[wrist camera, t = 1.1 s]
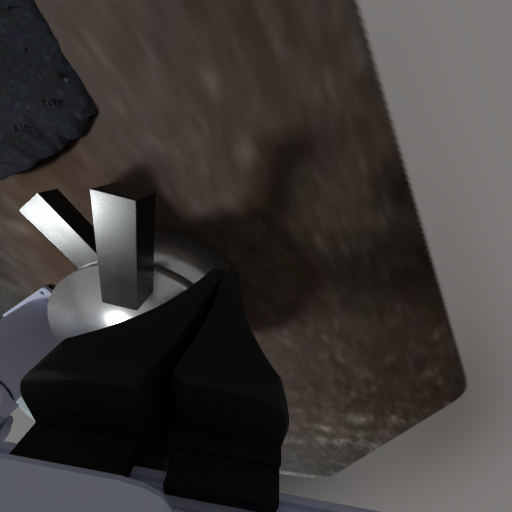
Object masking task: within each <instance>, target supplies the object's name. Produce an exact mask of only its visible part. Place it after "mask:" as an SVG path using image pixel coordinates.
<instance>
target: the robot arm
mask: <svg viewBox="0 0 512 512" xmlns="http://www.w3.org/2000/svg"><path fill="white" fill-rule="evenodd" d="M239 279H240V274H239V273H238V272H232V271H226V270H221V269H215V268H214V269H212V270H211V271H210V272H208V273H207V274H206V275H205V276H203V277H202V278H201V279H200V280H198V281H197V282H196V283H194V284H193V285H192V286H190V287H189V288H188V289H186V290H185V291H183V292H182V293H180V294H178V295H177V296H175V297H174V298H172V299H171V300H169V301H167V302H165V303H163V304H161V305H159V306H158V307H156V308H153V309H151V310H149V311H147V312H144V313H142V314H140V315H138V316H135V317H133V318H130V319H128V320H125V321H122V322H120V323H117V324H114V325H111V326H108V327H105V328H102V329H98V330H95V331H91V332H88V333H84V334H80V335H77V336H73V337H69V338H65V339H64V340H63V341H62V342H60V343H59V344H58V342H57V341H56V339H55V337H54V335H53V333H52V330H51V328H50V325H49V320H48V315H47V314H48V302H49V298H50V295H51V293H52V291H53V290H52V289H51V288H49V287H48V286H44V287H42V288H41V289H39V290H38V291H36V292H35V293H33V294H32V295H31V296H29V297H28V298H26V299H25V300H23V301H22V302H21V303H19V304H18V305H16V306H15V307H13V308H12V309H11V310H9V311H8V312H6V313H5V314H4V315H3V317H4V318H2V319H0V512H378V511H373V510H367V509H362V508H357V507H352V506H346V505H341V504H336V503H331V502H325V501H320V500H314V499H309V498H304V497H298V496H293V495H288V494H283V493H279V468H280V466H281V446H282V444H283V441H284V438H285V436H286V433H287V431H288V427H289V414H288V407H287V401H286V397H285V392H284V389H283V385H282V381H281V378H280V377H279V375H278V374H277V373H276V371H275V370H274V369H273V367H272V366H271V364H270V363H269V361H268V360H267V358H266V356H265V355H264V353H263V352H262V350H261V348H260V346H259V344H258V342H257V341H256V339H255V337H254V335H253V333H252V330H251V328H250V326H249V323H248V321H247V318H246V315H245V312H244V309H243V305H242V301H241V296H240V290H239ZM21 396H22V397H23V399H24V401H25V403H26V405H27V407H28V408H29V410H30V412H31V414H32V416H33V417H34V419H35V421H36V423H35V424H34V425H33V426H32V428H31V429H30V430H29V431H28V432H27V433H26V434H25V436H24V437H23V438H22V439H21V440H20V441H19V443H18V444H17V443H12V442H6V441H4V440H5V439H6V437H7V436H8V434H9V432H10V429H11V425H12V423H13V417H12V416H10V414H11V413H12V412H13V411H14V410H15V409H16V408H17V407H18V406H19V405H18V404H17V403H16V401H17V400H18V399H19V398H20V397H21Z"/></svg>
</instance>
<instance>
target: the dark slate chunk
mask: <svg viewBox="0 0 512 512" xmlns="http://www.w3.org/2000/svg"><path fill="white" fill-rule="evenodd" d="M93 114H96V110H95V107H94V105H93V102H92V100H91V99H90V98H89V97H88V95H87V92H86V89H85V87H84V84H83V82H82V81H81V79H80V77H79V76H78V74H77V73H76V72H75V70H74V69H73V68H72V67H71V65H70V63H69V62H68V61H67V60H66V58H65V57H64V55H63V53H62V51H61V49H60V46H59V43H58V41H57V39H56V38H55V37H54V35H53V34H52V32H51V29H50V27H49V25H48V23H47V21H46V20H45V18H44V17H43V16H42V15H41V13H40V12H39V10H38V8H37V6H36V4H35V2H34V0H0V180H3V179H5V178H7V177H8V176H11V175H13V174H15V173H18V172H20V171H26V170H28V168H30V167H33V166H34V164H35V163H37V162H39V160H41V159H44V158H47V157H49V156H51V155H54V154H56V153H58V152H59V151H60V150H61V149H62V148H63V147H64V146H66V145H67V144H68V143H70V141H71V140H72V139H76V138H78V137H80V136H81V135H82V133H83V131H84V130H85V129H86V128H87V127H88V124H89V118H90V115H93Z"/></svg>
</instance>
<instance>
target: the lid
mask: <svg viewBox="0 0 512 512" xmlns="http://www.w3.org/2000/svg"><path fill="white" fill-rule="evenodd" d="M90 195H91V204H92V213H93V222H94V232H95V241H96V250H97V261H94V262H91V263H88V264H86V265H84V266H83V267H81V268H79V269H77V270H76V271H74V272H73V273H71V274H70V275H68V276H67V277H65V278H64V279H63V280H62V281H60V282H59V283H58V284H57V286H56V287H55V288H54V289H53V291H52V293H51V295H50V298H49V302H48V314H47V315H48V320H49V325H50V328H51V330H52V333H53V335H54V337H55V339H56V341H57V342H58V344H59V343H60V342H62V341H63V340H64V339H65V338H69V337H73V336H77V335H80V334H84V333H88V332H91V331H95V330H98V329H102V328H105V327H108V326H111V325H114V324H117V323H120V322H122V321H125V320H128V319H130V318H133V317H135V316H138V315H140V314H142V313H144V312H147V311H149V310H151V309H153V308H156V307H158V306H159V305H161V304H163V303H165V302H167V301H169V300H171V299H172V298H174V297H175V296H177V295H178V294H180V293H182V292H183V291H185V290H186V289H188V288H189V287H190V286H192V285H193V284H194V283H192V282H191V281H189V280H188V279H186V278H185V277H183V276H181V275H179V274H178V273H176V272H174V271H172V270H170V269H167V268H165V267H163V266H160V265H157V264H154V241H155V203H156V192H153V191H149V190H145V189H141V188H137V187H133V186H130V185H126V184H122V183H118V182H116V183H112V184H108V185H104V186H100V187H97V188H93V189H90Z"/></svg>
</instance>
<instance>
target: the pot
mask: <svg viewBox="0 0 512 512" xmlns="http://www.w3.org/2000/svg"><path fill="white" fill-rule="evenodd" d="M19 211H20V212H21V213H22V214H23V215H24V216H25V217H26V218H27V219H28V220H29V221H30V222H31V223H32V224H34V225H35V226H36V227H37V228H38V229H39V230H40V231H41V232H42V233H43V234H44V235H45V236H46V237H47V238H48V239H49V240H50V241H51V242H52V243H53V244H54V245H55V246H56V247H57V248H58V249H59V250H60V251H62V252H63V253H64V254H65V255H66V256H67V257H68V258H69V259H70V260H71V261H72V262H73V263H74V264H75V265H76V266H77V267H78V268H81V267H83V266H84V265H86V264H88V263H91V262H94V261H97V250H96V241H95V232H94V227H93V226H92V225H91V224H90V223H89V222H88V221H87V220H86V219H85V218H84V217H83V216H82V215H81V213H80V212H79V211H78V210H77V209H76V208H75V207H74V206H73V205H72V204H71V203H70V202H69V201H68V200H67V198H66V197H65V196H64V195H63V194H62V193H61V192H60V191H59V190H58V189H54V190H50V191H45V192H41V193H37V194H36V195H35V196H34V197H33V198H32V199H31V200H30V201H29V202H28V203H26V204H25V205H24V206H23V207H22V208H21V209H20V210H19ZM154 264H157V265H160V266H163V267H165V268H167V269H170V270H172V271H174V272H176V273H178V274H179V275H181V276H183V277H185V278H186V279H188V280H189V281H191V282H192V283H196V282H197V281H198V280H200V279H201V278H202V277H203V276H205V275H206V274H207V273H208V272H210V271H211V270H212V269H214V268H215V269H221V270H226V271H232V270H231V269H230V267H229V266H228V264H227V263H226V262H225V260H224V259H223V258H222V257H221V256H220V255H219V254H218V253H217V252H216V251H215V250H213V249H212V248H211V247H209V246H208V245H207V244H205V243H203V242H202V241H200V240H198V239H196V238H194V237H191V236H189V235H186V234H182V233H178V232H173V231H155V241H154Z"/></svg>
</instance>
